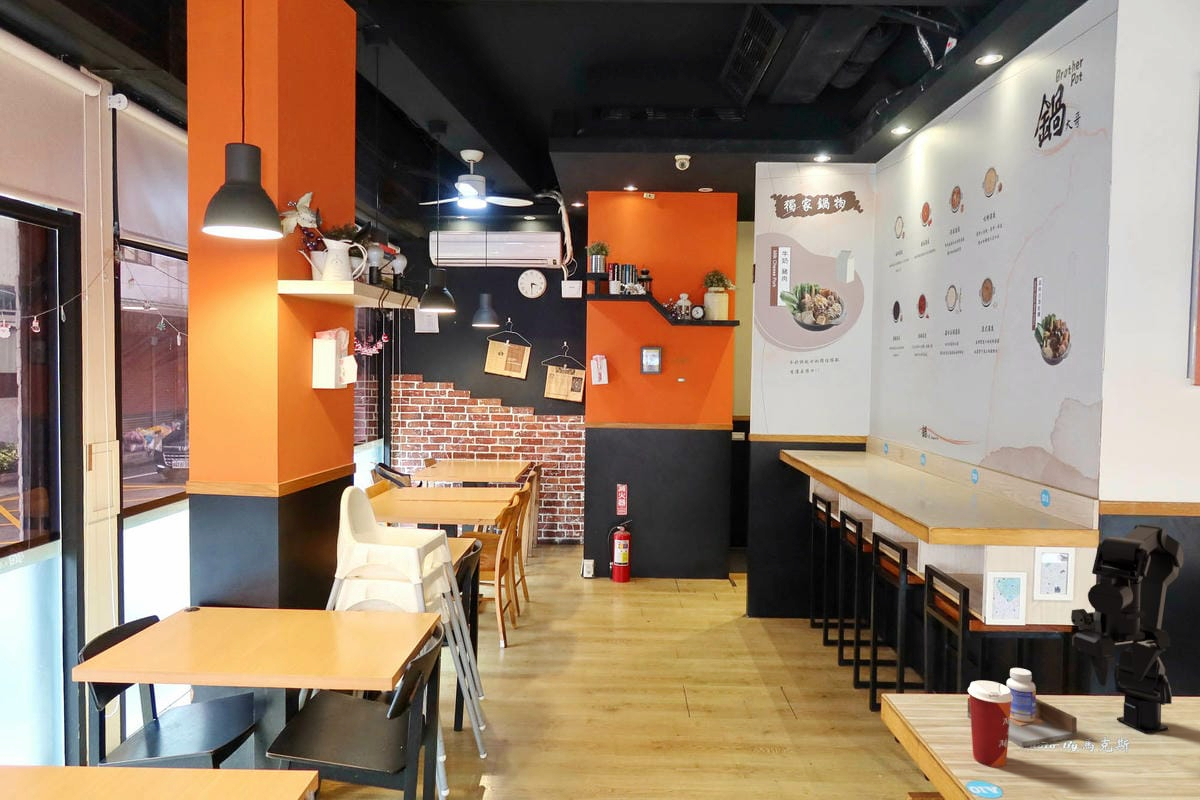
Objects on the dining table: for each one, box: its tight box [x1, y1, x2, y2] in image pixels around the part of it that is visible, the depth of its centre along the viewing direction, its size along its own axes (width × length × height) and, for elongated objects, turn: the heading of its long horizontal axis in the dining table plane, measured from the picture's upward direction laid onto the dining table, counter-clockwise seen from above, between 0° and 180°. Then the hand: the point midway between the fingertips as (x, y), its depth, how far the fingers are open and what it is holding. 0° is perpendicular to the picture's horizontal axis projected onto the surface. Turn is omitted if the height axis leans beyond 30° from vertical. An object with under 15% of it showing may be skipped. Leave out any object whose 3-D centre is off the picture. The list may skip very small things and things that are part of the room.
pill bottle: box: [1006, 667, 1037, 722], centre depth 157 cm, size 5×5×10 cm
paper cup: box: [967, 679, 1013, 768], centre depth 141 cm, size 8×8×14 cm
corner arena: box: [967, 697, 1078, 748], centre depth 155 cm, size 14×14×4 cm
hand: (1120, 682), depth 146 cm, fingers open, 9 cm apart
